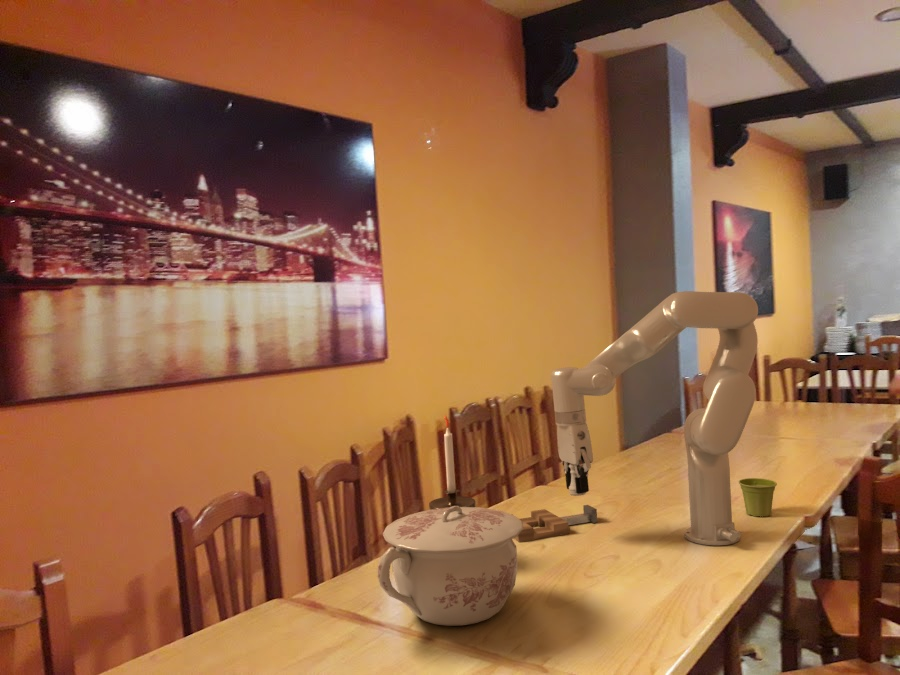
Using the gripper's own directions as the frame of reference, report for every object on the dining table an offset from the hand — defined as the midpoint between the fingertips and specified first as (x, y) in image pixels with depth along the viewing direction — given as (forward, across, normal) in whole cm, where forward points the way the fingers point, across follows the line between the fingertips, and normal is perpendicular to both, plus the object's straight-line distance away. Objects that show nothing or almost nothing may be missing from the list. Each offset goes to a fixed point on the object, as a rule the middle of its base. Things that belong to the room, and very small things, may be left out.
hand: (577, 489), depth 171 cm
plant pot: (+15, -2, -52) cm, 54 cm away
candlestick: (+12, 0, +33) cm, 35 cm away
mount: (+12, +14, +7) cm, 20 cm away
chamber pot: (+12, -25, +41) cm, 50 cm away
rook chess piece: (+1, 0, 0) cm, 1 cm away
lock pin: (+13, +14, -4) cm, 19 cm away
